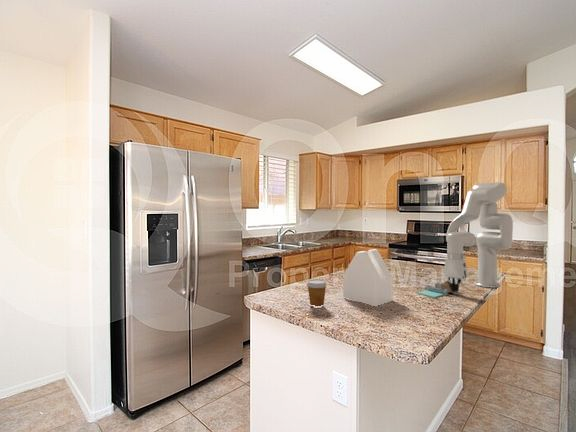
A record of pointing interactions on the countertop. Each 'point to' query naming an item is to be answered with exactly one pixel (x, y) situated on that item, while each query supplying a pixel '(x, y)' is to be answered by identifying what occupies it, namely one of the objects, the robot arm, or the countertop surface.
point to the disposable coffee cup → (316, 291)
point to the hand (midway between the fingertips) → (455, 290)
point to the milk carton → (368, 279)
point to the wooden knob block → (446, 286)
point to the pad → (430, 294)
